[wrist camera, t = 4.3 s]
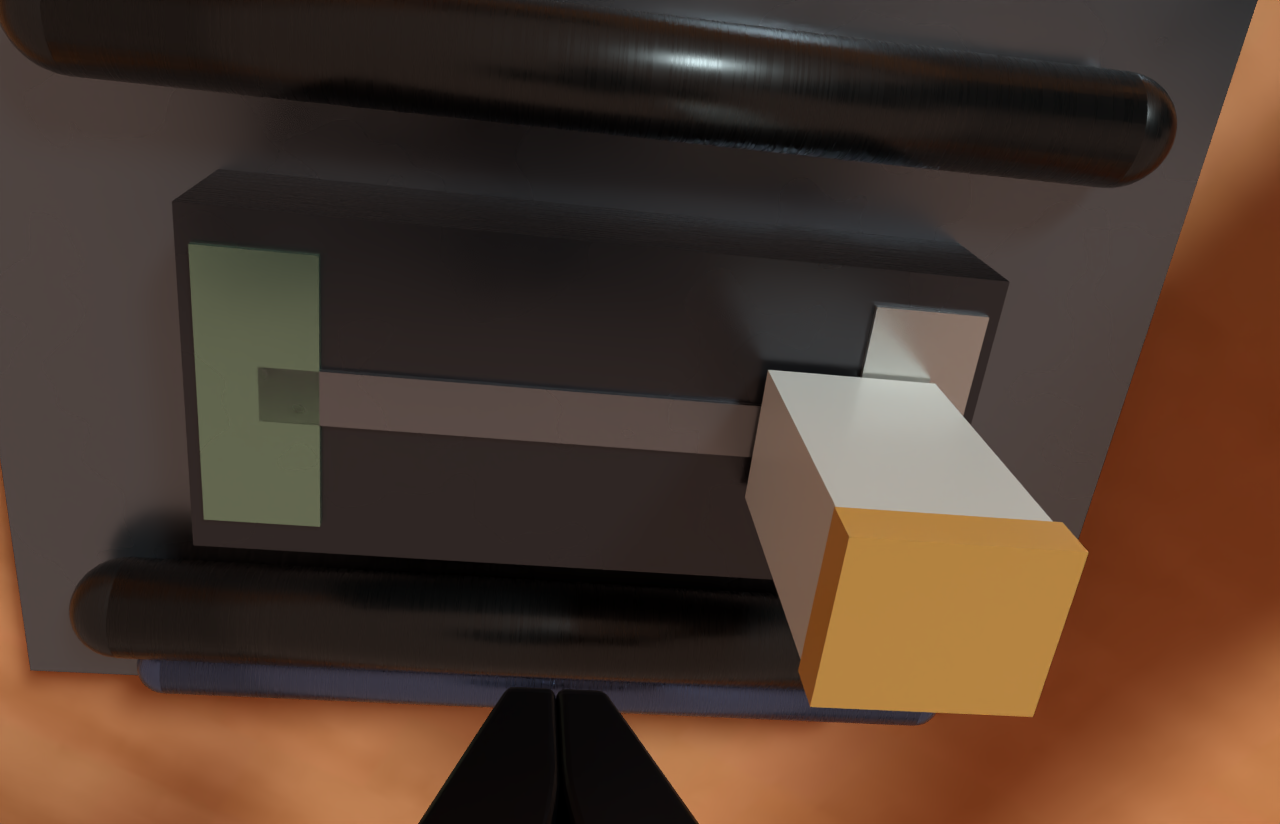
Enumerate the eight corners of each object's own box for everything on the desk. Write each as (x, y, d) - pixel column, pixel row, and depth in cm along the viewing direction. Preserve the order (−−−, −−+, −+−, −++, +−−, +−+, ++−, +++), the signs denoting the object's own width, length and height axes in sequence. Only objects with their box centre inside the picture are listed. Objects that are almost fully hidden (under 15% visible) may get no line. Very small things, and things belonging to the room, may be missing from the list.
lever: (939, 380, 15) (1088, 552, 11) (906, 511, 16) (1033, 716, 11) (764, 366, 14) (848, 536, 10) (741, 500, 15) (809, 706, 11)
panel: (1200, -12, 16) (1363, 2, 13) (990, 665, 22) (1068, 795, 18) (-31, -176, 14) (-205, -209, 11) (67, 619, 19) (-31, 756, 16)
